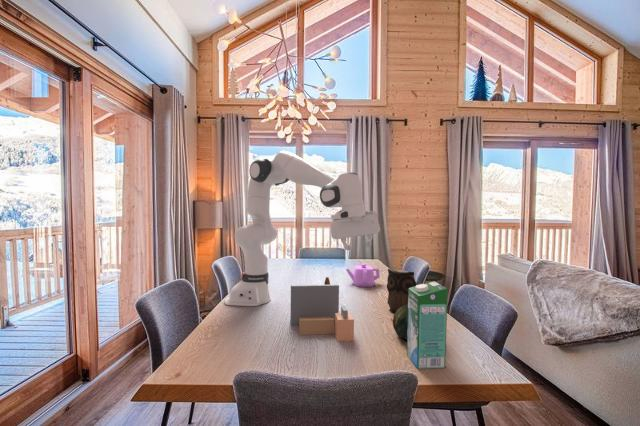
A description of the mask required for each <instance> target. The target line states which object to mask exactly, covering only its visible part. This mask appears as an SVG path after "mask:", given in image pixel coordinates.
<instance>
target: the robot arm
mask: <svg viewBox="0 0 640 426" xmlns="http://www.w3.org/2000/svg"><path fill="white" fill-rule="evenodd" d="M249 177H250V179H249V181H248V182H249V183H248V188H247V195H246V196H247V198H246V213H248V215H250V216H251V217H250V218H251V220H252V224H245V225H243V226H240V227H238V228H236V229H235V232H234V241H235V243H236V245H238V246H239V247H240V248H241V250H242V253H243V255H244V260H245V261H244V262H245V267H244V268H245V269H244V270H245V271H243V272H241V275H240V276H241V277H240V278H241V280H240V281H239V282H238V283H236V284H235V285H234V286H232V288H231V289H230V292H229V296H228V295H227V297H226V298H225V300H224V304H225V306H235V307H236V306H243V307H257V306H259V305H260V306H261V305H264V304H267V303H269V302H270V301H271V295H270V290H269V282H270V280H269V279H270V278H269V276H270V275H269V271H268V265H269V263H268V262H269V261H268V256H267V255H266V254H264V252H263V249H262V246H263V245H268V244H270V243H272V242H274V241H276V239H277V237H278V230H277V228H276V227H275V225H274V224H273V222H272V219H271V215H270V203H271V202H270V200H271V198H270V197H271V188H272V186H274V185H275V186H279V185H283V184H285V183H288V182H289V181H290V182H292V183H295V184H297V185H303V186H315V187H318V188H320V192H319V200H320V202H321V204H322V205H323V206H324V207H326V208H341V209H340V210H338V211H337V212H334V213H332V214H331V215H330V219H331V220H332V221H331V223H330V235H331V238H332V239H333V240H340V242H341V243H342V245H343V246H344V250H345V251H350V250H351V245H350V244H348V243H347V241H348V240H347V239H349V238H355V237H362V236H366V238H367V241H365V246H366V247H372V241H373V239H374V236H373V235H374V234H379V233H380V231H381V228H380V227H381V226H380V223H379V219H378V213H377V212H376V211H374V210H370V211H366V209H365V208H366V207H365V202H364V200H363V187H362V182H361V178H360V176H359V174H358V173H356V172H349V171H345V172H343V171H342V172H340V173H339V174H338V175H337V176H336V178H333V177H332V176H330V175H328V174H326V173H325V172H323V171H321V170H320V169H318V168H316V167H315V166H313V165H311V164H310V163H309V162H307V161H306V160H304V159H303V158H301V156H300V157H299V156H298V155H296V154H294V153H292V152H289V151H287V150H286V151H285V150H281V151H279V152H277V154H276V155H275V156H274V158H273V159H272V160H270V159H268V158H262V159H256V160H254V161H252V163H251V164H250V165H249Z"/></svg>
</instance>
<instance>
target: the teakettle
mask: <svg viewBox="0 0 640 426" xmlns="http://www.w3.org/2000/svg"><path fill="white" fill-rule="evenodd" d="M345 271H346V272H347V273H348V276H349V277H350V278H351V280H352V283H353V285H354V287H363V288H364V287H366V288H367V287H372V286H373V287H374V285H375V280H377V279H380V277H381V276H380V268H377V267H372V266H371V265H367V264H366V263H361V264H360V265H359V264H358V265H354V268H353V273H352V271H351V270H350V269H349V268H346V269H345ZM374 272H375V274H374Z"/></svg>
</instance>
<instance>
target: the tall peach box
mask: <svg viewBox="0 0 640 426" xmlns="http://www.w3.org/2000/svg"><path fill="white" fill-rule="evenodd" d="M334 335H335V337H336V341H337V342H354V341H355V318H354V317H353V315H352V313H351V312H349V311H348V308H347V307H346V305H342V306H341V307H340V312H339V313H335V323H334Z"/></svg>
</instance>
